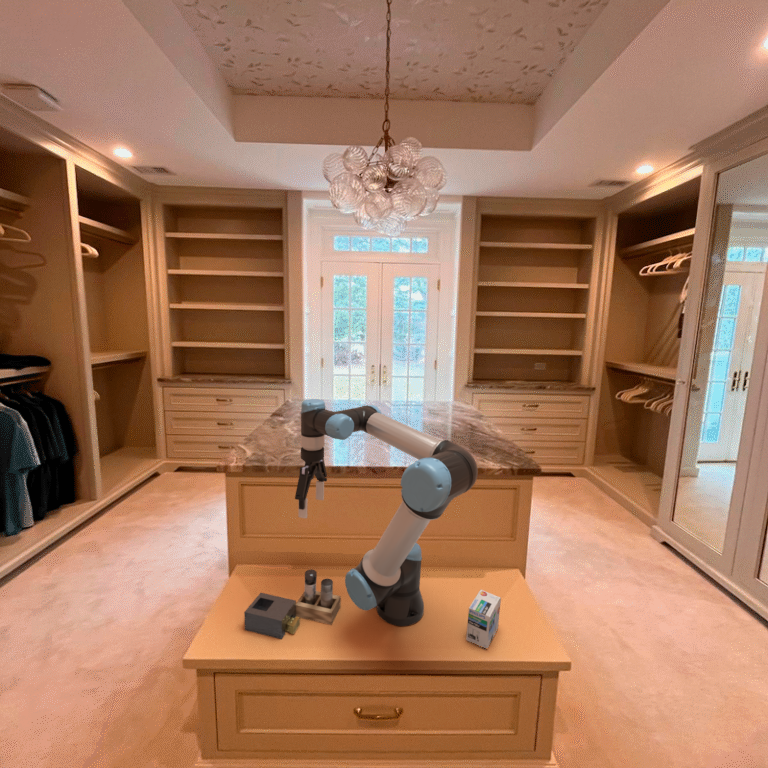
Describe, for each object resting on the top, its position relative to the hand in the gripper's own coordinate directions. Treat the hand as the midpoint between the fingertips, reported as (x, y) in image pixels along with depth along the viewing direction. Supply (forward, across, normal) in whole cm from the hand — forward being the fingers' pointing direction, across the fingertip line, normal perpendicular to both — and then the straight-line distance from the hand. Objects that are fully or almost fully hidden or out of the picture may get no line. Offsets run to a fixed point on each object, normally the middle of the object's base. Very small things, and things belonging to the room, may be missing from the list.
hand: (311, 508), depth 140 cm
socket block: (+29, +20, -4) cm, 35 cm away
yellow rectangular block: (+28, +20, -1) cm, 35 cm away
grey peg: (+28, +11, +5) cm, 30 cm away
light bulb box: (+29, +5, +58) cm, 65 cm away
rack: (+29, +11, +8) cm, 32 cm away
